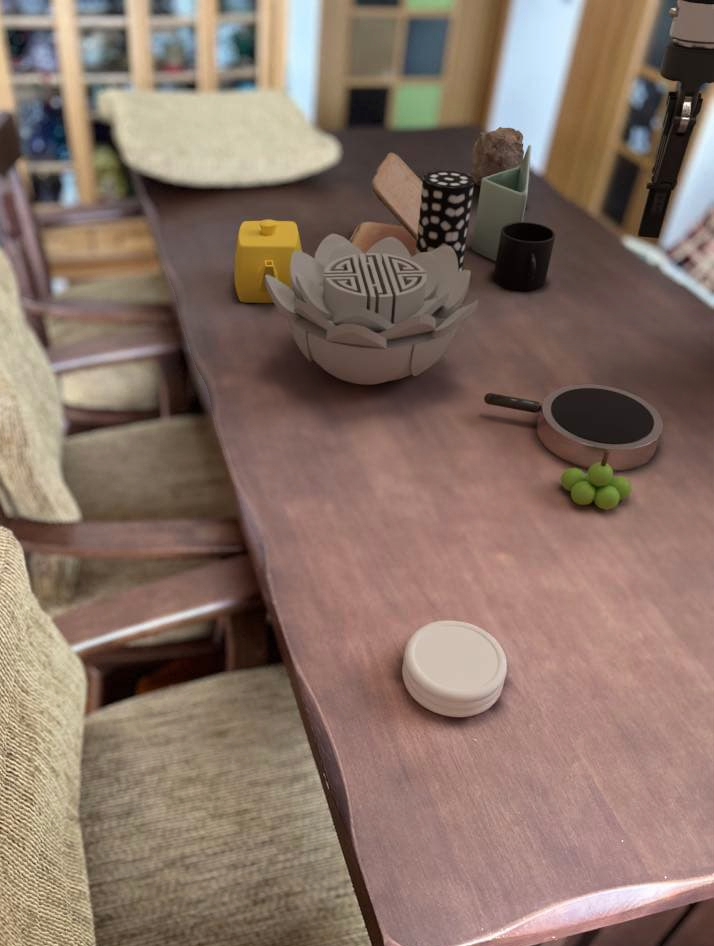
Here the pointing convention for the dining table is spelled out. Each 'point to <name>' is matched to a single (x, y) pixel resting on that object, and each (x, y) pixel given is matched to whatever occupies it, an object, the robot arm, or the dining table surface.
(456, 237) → the spotted tube
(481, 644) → the round cream tin
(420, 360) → the decorative bowl
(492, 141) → the stone
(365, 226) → the case
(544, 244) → the mug
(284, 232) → the teapot
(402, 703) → the dining table surface
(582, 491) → the grapes
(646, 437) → the pan
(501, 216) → the green magazine holder
